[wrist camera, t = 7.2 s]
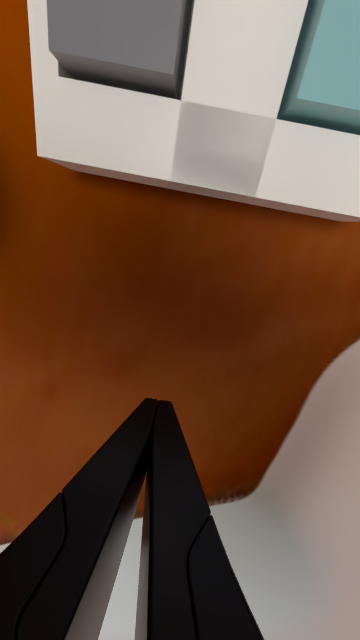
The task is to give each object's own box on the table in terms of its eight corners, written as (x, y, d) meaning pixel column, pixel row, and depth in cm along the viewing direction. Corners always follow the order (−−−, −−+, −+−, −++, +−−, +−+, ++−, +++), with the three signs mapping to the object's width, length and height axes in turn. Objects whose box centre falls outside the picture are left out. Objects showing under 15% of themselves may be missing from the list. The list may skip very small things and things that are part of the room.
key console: (75, 170, 15) (37, 155, 12) (72, -137, 10) (5, -327, 7) (340, 221, 16) (384, 222, 12) (457, -57, 11) (592, -200, 7)
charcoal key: (82, 89, 12) (48, 50, 9) (82, -64, 10) (39, -173, 7) (178, 107, 12) (173, 74, 9) (197, -40, 10) (198, -139, 7)
